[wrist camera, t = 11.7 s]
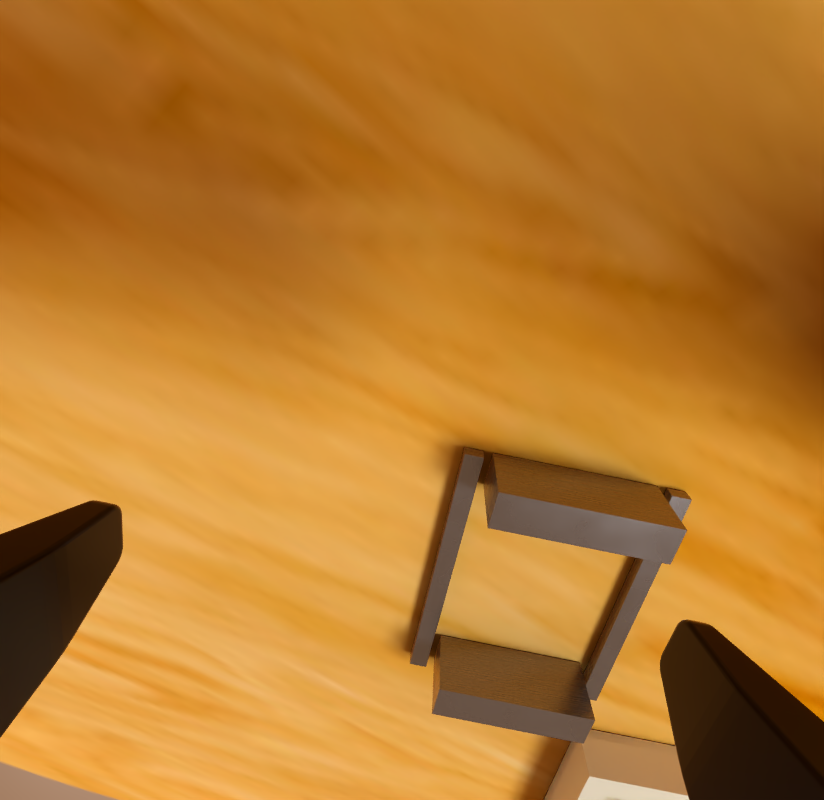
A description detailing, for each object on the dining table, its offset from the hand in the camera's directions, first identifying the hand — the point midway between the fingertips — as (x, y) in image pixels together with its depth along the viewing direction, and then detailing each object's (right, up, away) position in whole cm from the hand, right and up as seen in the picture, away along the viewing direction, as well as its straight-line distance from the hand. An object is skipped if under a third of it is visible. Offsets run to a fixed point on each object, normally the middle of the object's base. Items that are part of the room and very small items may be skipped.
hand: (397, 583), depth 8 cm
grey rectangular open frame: (+6, -5, +16) cm, 18 cm away
